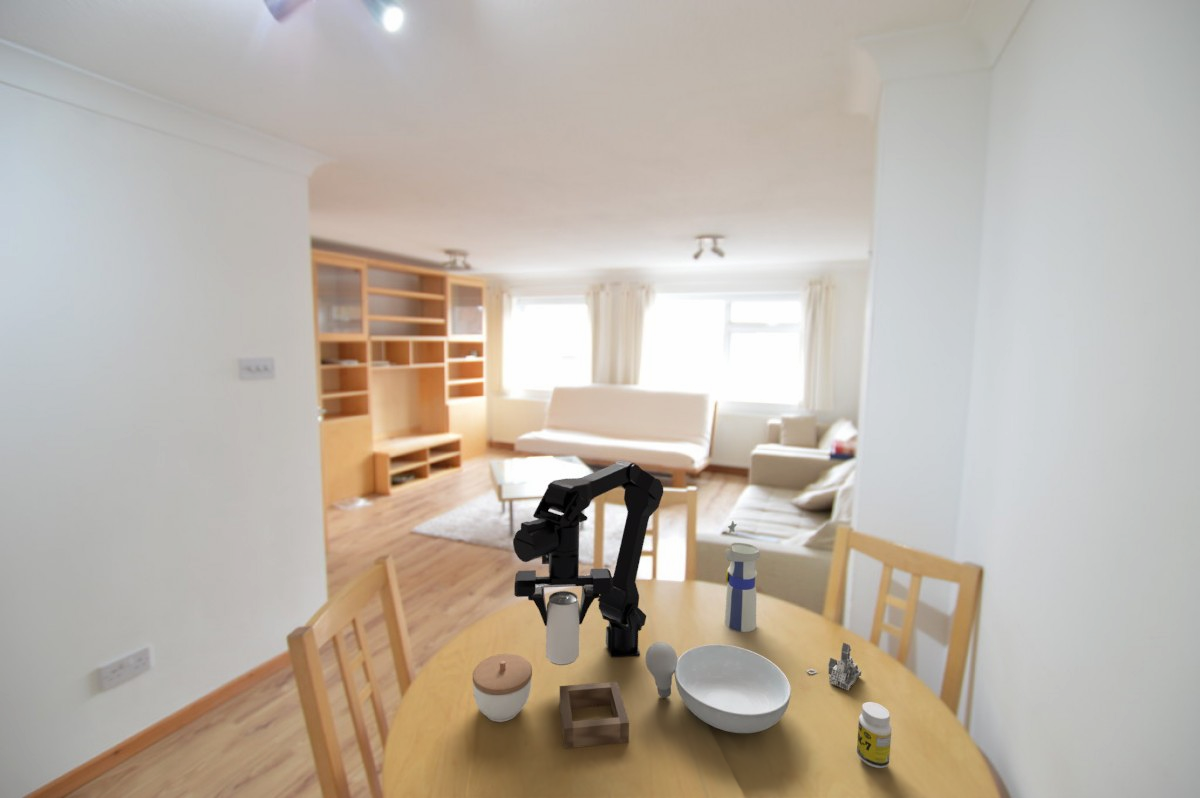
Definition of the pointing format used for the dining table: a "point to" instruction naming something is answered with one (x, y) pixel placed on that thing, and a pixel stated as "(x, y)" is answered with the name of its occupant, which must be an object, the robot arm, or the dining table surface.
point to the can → (562, 628)
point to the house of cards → (842, 669)
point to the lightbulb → (661, 666)
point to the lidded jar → (502, 686)
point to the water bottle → (741, 586)
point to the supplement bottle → (874, 735)
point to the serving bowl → (732, 688)
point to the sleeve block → (597, 728)
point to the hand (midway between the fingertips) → (563, 624)
